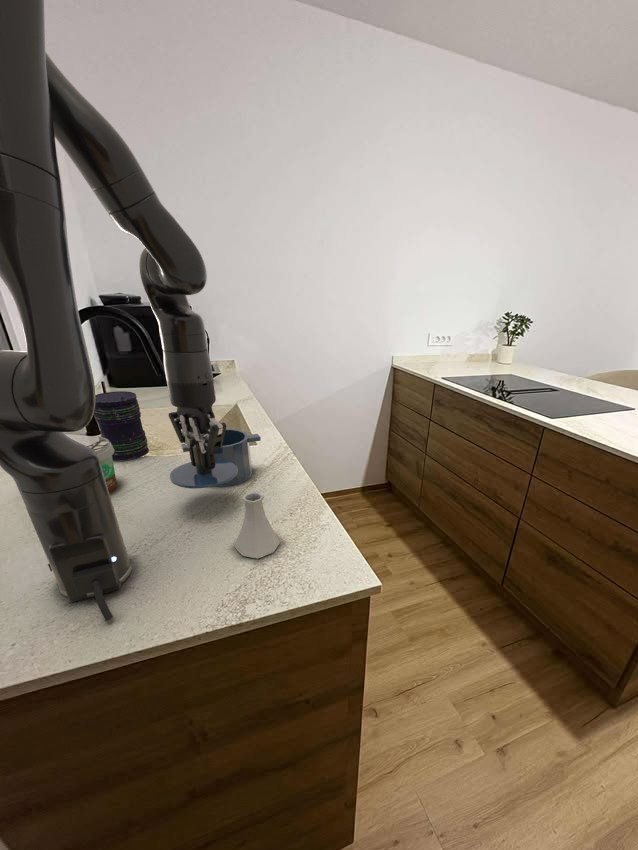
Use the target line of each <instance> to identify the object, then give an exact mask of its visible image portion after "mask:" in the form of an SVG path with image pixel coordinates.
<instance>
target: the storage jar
mask: <svg viewBox="0 0 638 850" xmlns="http://www.w3.org/2000/svg"><path fill="white" fill-rule="evenodd" d="M95 397H96V402H95V410H94V414H93V416H94V420H95V421H96V423H97V425H98V428H99V432H100V437H103V438H106V439H108V441H109V442H110V443H111V444H112V446H113V448H114V453H113V454H112V459H113V462H126V461H133V460H137V459H140V458H143V457H145V456H146V455H148V454H149V452H150V449H149V447H148V445H149V444H148V439H147V436H146V432H145V429H144V428H143V423H142V418H141V417H142V413H141V409H140V405H139V401H138V399H137V397H138V396H137V394H136V393H135V392H133V391H126V390H125V391H124V390H123V391H122V390H121V391H120V390H119V391H118V390H117V391H107V392H101V393H96V394H95Z"/></svg>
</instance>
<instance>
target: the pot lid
mask: <svg viewBox="0 0 638 850" xmlns="http://www.w3.org/2000/svg"><path fill="white" fill-rule="evenodd" d="M205 444H206V446H207V443H205ZM193 453H194V459H195V465H196V467H195V466H193V465H192V463H191V461H189V462H186V463H184V464H181V465H178V466H177V467H175V468H173V470H172V471H170V474H169V480H170V482H171V484H172V485H175V486H177V487H179V488H184V489H206V488H213V487H218V486H217V485H221V484H224V483H226V482H228V481H230V480H232V479H233V478H234V477H235V476H236V475H237V473H238V468H237V466H236V465H235V464H234V463H232V462H229V461H225V460H219V459H215V468H214V469H212V470H209V471H206V470H204V469H203V464H202V457H201V453H202V452H201V449H200V445H199V443H197V444H194V445H193Z"/></svg>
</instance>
